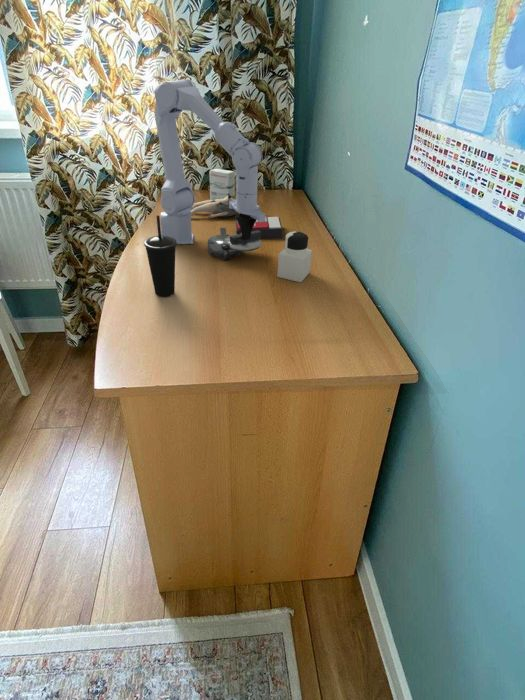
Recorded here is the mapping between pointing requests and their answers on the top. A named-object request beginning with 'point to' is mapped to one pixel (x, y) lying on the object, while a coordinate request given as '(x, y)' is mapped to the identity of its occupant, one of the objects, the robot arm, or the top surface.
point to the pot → (216, 243)
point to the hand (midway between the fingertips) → (246, 239)
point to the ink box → (221, 183)
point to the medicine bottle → (295, 257)
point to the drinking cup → (162, 262)
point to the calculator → (266, 228)
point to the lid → (243, 242)
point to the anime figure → (215, 207)
